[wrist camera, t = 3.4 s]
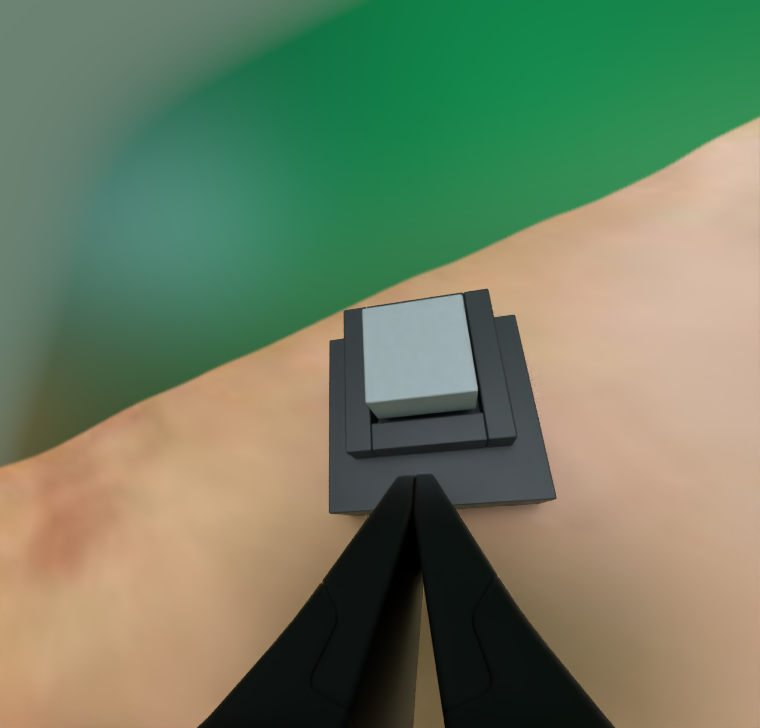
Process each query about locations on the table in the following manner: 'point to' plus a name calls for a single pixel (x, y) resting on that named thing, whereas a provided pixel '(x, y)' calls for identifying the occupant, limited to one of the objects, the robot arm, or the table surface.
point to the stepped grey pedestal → (440, 426)
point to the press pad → (418, 358)
